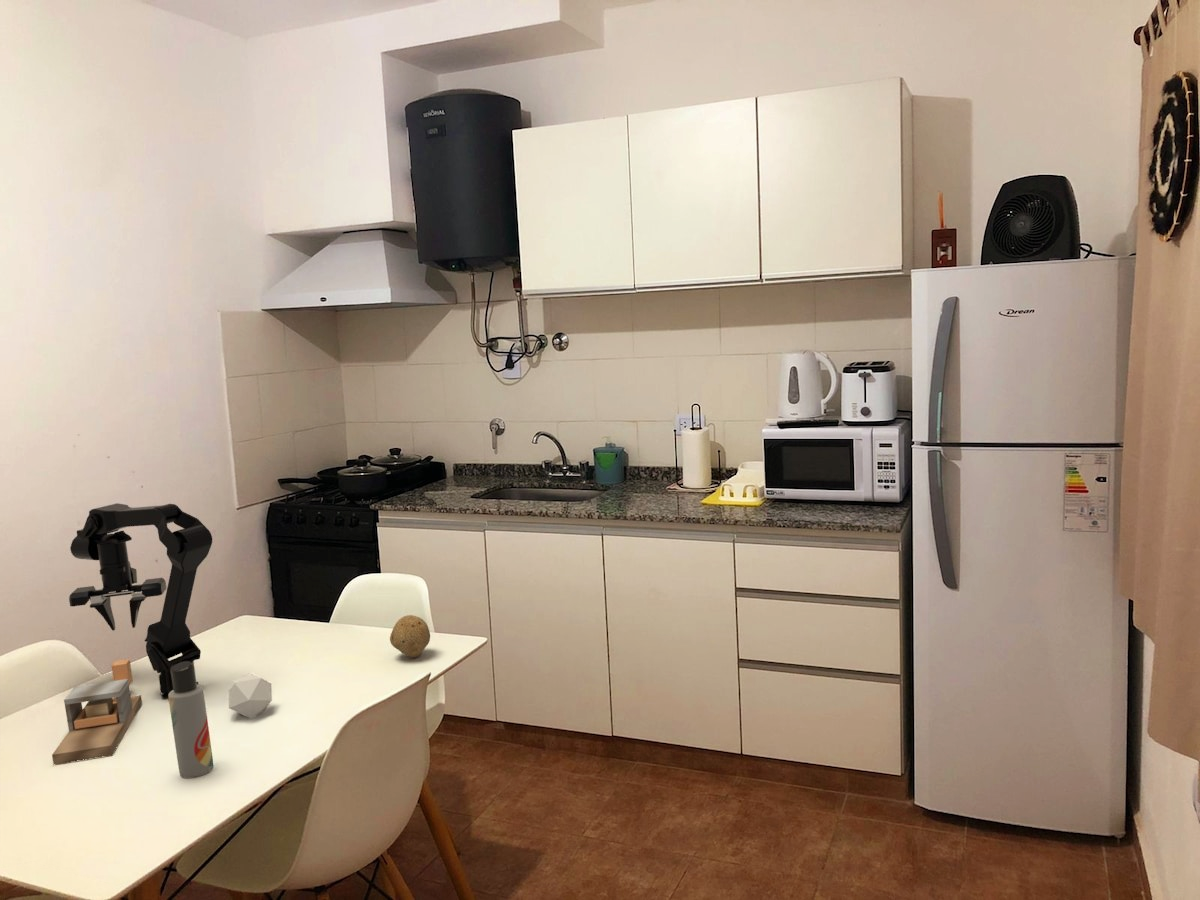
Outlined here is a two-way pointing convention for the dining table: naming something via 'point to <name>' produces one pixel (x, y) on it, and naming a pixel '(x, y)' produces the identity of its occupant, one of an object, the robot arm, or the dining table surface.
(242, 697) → the die
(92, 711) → the birch block
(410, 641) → the brown round lump
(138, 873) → the dining table surface
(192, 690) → the lotion bottle
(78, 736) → the tunnel
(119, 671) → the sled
